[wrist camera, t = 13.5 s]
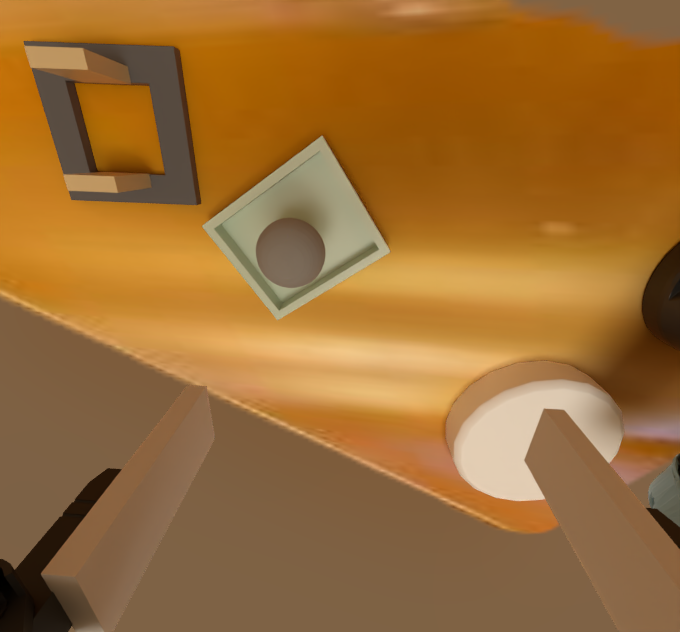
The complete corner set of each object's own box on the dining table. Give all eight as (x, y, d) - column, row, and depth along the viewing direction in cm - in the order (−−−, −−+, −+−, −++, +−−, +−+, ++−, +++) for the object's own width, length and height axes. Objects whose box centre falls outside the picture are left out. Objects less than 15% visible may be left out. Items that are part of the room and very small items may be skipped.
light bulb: (281, 264, 34) (257, 302, 25) (270, 209, 32) (238, 230, 23) (333, 257, 34) (327, 294, 25) (325, 202, 31) (316, 220, 22)
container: (433, 471, 48) (441, 501, 44) (459, 355, 39) (472, 379, 35) (571, 477, 48) (592, 508, 44) (627, 362, 39) (661, 387, 35)
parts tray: (324, 137, 29) (321, 135, 27) (387, 245, 34) (390, 251, 31) (211, 221, 33) (201, 226, 31) (282, 310, 37) (277, 320, 35)
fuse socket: (34, 45, 27) (-45, 16, 22) (179, 50, 27) (136, 23, 22) (79, 198, 32) (25, 207, 27) (200, 203, 32) (171, 212, 27)
